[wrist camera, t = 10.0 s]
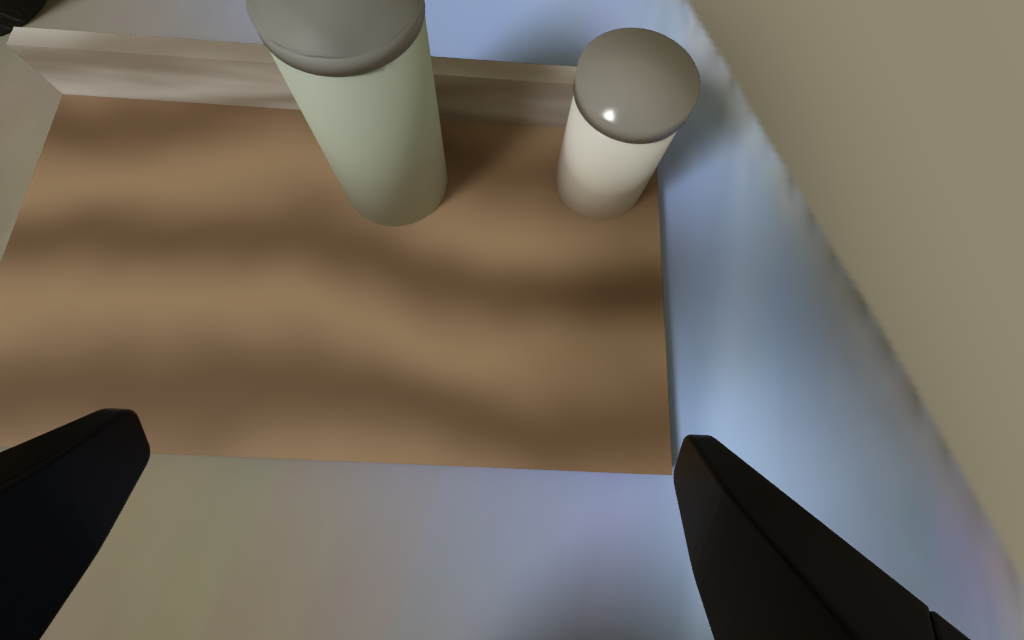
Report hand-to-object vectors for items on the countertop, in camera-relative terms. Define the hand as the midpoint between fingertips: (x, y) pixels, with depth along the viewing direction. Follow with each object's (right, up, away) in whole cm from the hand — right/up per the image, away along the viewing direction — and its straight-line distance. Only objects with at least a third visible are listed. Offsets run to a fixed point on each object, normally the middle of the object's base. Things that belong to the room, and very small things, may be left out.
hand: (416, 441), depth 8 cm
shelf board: (-6, +5, +15) cm, 17 cm away
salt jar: (+6, +9, +16) cm, 20 cm away
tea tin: (-4, +9, +16) cm, 19 cm away
